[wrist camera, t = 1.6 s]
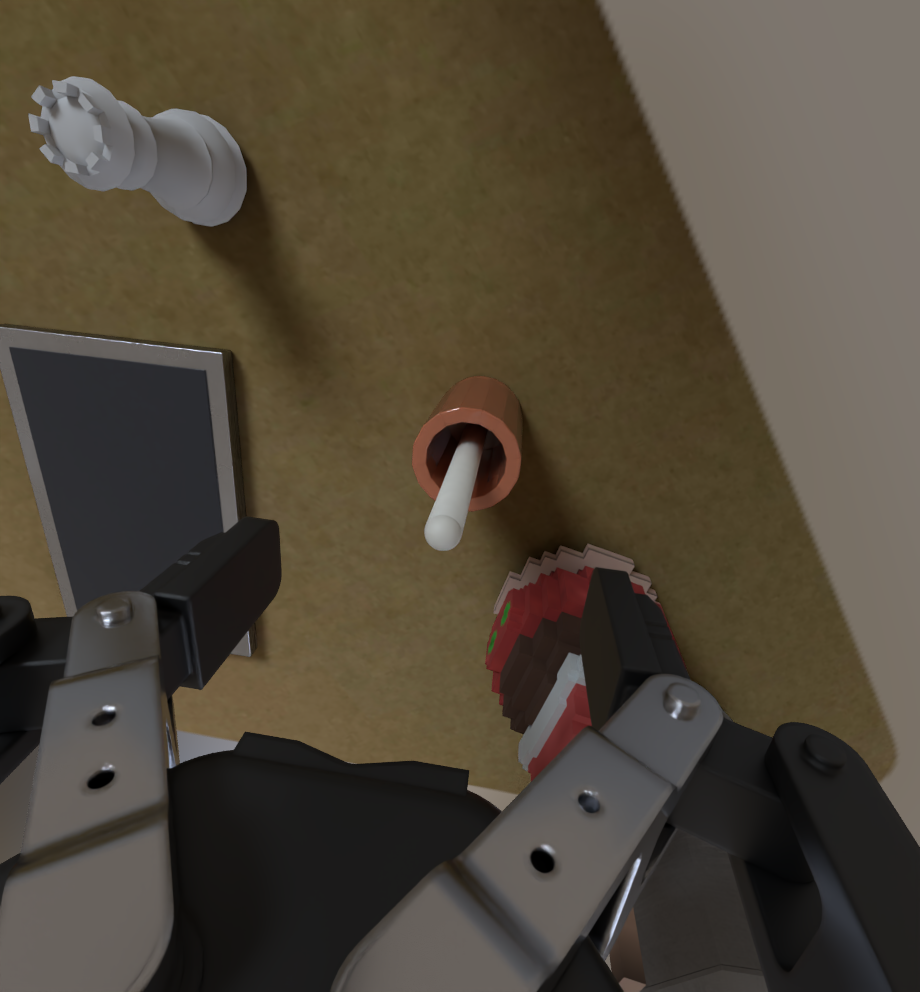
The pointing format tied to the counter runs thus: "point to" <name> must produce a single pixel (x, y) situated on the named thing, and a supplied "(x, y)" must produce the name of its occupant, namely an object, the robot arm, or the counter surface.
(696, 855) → the coffeepot
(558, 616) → the cake
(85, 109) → the rook chess piece
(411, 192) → the counter surface
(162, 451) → the tablet
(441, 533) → the stylus
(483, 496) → the pen cup
